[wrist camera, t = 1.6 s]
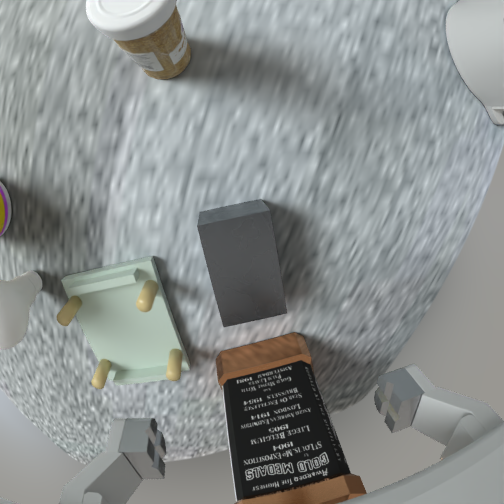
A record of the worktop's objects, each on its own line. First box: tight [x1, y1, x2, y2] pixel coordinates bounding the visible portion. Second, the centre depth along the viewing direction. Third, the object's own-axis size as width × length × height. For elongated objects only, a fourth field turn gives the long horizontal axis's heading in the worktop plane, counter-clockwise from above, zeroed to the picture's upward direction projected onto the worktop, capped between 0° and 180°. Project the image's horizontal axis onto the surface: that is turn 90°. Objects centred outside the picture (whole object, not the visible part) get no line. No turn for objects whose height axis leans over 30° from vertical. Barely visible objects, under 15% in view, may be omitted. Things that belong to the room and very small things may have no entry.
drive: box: [197, 199, 287, 327], centre depth 27 cm, size 6×9×5 cm, turn 11°
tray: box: [57, 256, 190, 389], centre depth 28 cm, size 10×13×5 cm
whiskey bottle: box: [216, 332, 367, 504], centre depth 20 cm, size 10×10×32 cm
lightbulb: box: [0, 271, 42, 350], centre depth 22 cm, size 6×6×11 cm
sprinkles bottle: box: [86, 0, 191, 79], centre depth 16 cm, size 5×5×14 cm
